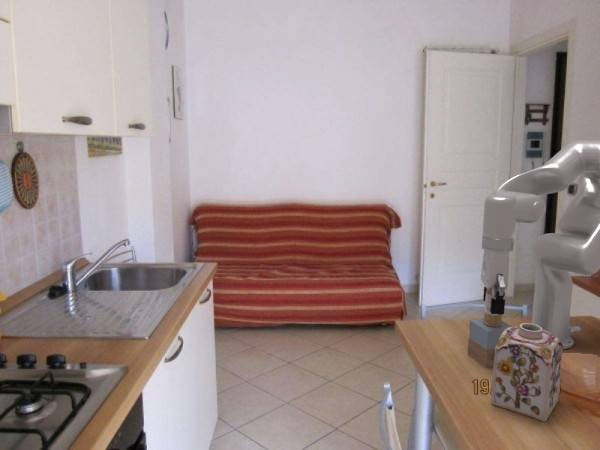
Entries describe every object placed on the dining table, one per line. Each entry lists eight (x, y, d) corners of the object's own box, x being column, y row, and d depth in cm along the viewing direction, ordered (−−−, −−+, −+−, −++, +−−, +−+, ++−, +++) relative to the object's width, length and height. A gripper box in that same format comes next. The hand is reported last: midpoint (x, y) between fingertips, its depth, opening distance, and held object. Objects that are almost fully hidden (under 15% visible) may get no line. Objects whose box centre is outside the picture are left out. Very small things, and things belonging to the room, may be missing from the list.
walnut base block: (492, 351, 137) (493, 334, 136) (512, 364, 130) (513, 346, 129) (467, 355, 135) (468, 337, 134) (486, 368, 128) (487, 350, 127)
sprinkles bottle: (505, 325, 130) (509, 276, 127) (494, 329, 127) (498, 278, 125) (490, 319, 134) (494, 271, 131) (479, 323, 131) (482, 274, 129)
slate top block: (495, 334, 136) (496, 317, 135) (514, 346, 129) (515, 328, 128) (469, 337, 134) (470, 320, 133) (486, 349, 127) (487, 331, 126)
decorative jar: (506, 384, 119) (511, 313, 116) (559, 400, 112) (566, 324, 109) (489, 405, 110) (494, 328, 107) (545, 424, 103) (553, 342, 100)
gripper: (476, 236, 136) (472, 296, 139) (488, 250, 119) (484, 318, 122) (505, 237, 134) (501, 297, 137) (521, 251, 117) (516, 320, 121)
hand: (493, 307), depth 130 cm, fingers open, 9 cm apart
